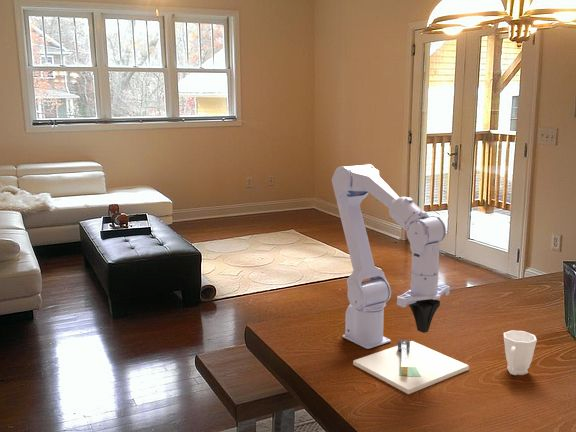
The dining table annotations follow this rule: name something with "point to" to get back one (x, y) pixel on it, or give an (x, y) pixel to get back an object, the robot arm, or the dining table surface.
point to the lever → (404, 355)
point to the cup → (519, 351)
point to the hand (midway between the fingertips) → (422, 331)
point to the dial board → (411, 367)
